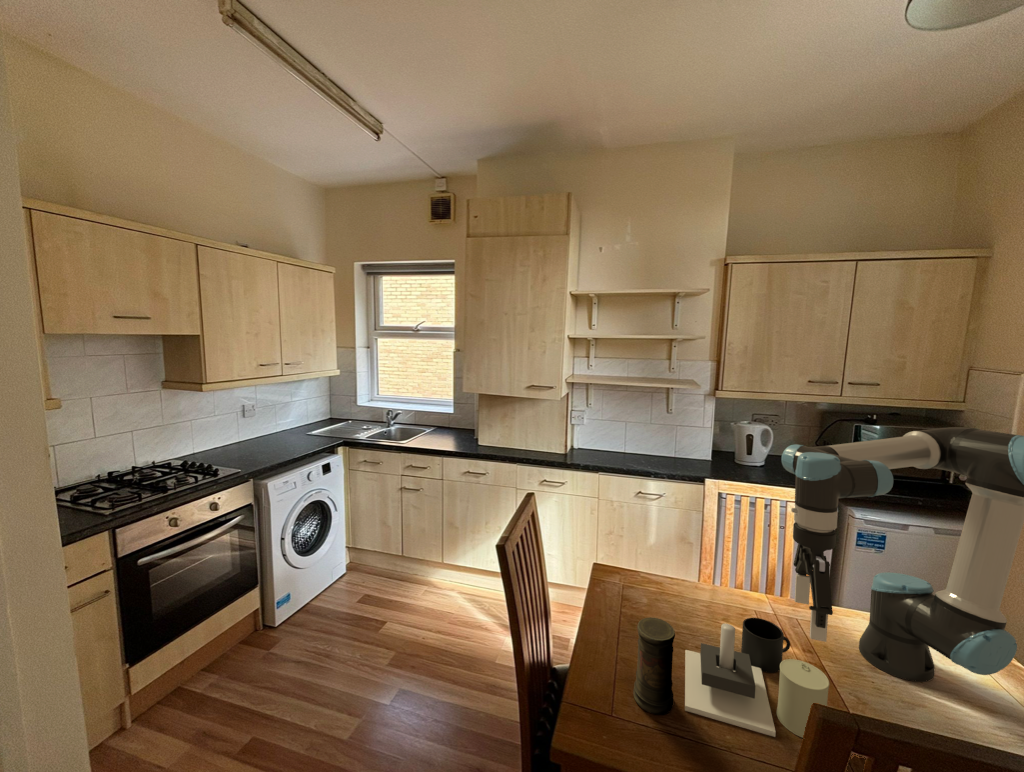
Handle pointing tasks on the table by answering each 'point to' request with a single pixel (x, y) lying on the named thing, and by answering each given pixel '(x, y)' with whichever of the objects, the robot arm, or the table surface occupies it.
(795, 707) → the can
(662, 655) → the container
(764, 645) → the mug
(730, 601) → the table surface
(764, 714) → the peg stand
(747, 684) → the grey square plate
